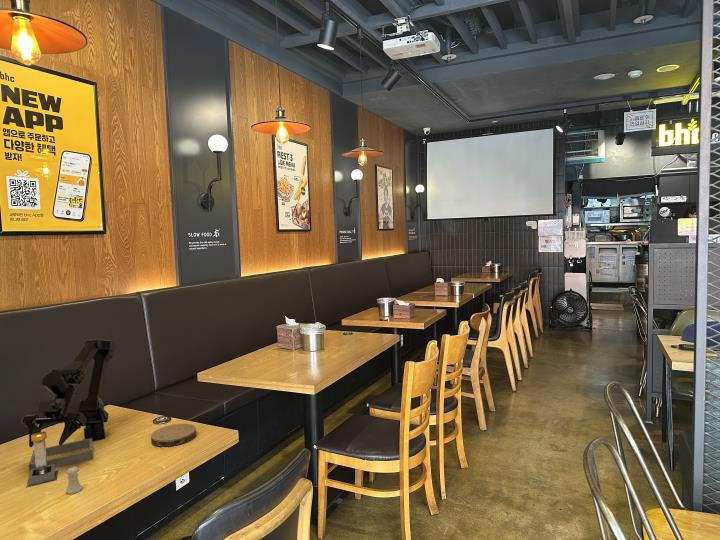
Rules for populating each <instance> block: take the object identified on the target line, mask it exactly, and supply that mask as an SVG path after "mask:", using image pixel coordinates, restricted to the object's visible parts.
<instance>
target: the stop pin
mask: <svg viewBox="0 0 720 540" xmlns="http://www.w3.org/2000/svg"><path fill="white" fill-rule="evenodd" d="M47 437H48V435H47V432H46V431H41V432H38V433H35V434H32V435H31V440H32V441H34V445H33V449H34V452H35V463H36V474H37V475H40V474H44V473H48V467H47V460H48V458H47V456H46V448H47V447H46V439H47Z"/></svg>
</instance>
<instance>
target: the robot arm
mask: <svg viewBox="0 0 720 540" xmlns="http://www.w3.org/2000/svg"><path fill="white" fill-rule="evenodd" d="M116 348H117V344H116V342H114V341H113V340H112V339H107V340H102V339H98V338H97V339H96V338H95V339H87V340H86V341H85V342H84V346H83V347H82V348H81V349H80V351H79V352H78V354H77V355H76V357H75V358H74V359H73V361H72V362H71V363H68V364H67V365H66V364H65V366H64V367H62V368H61V369H60V368H59V369H57V368H54V369H53V368H52V371H51V372H49V373H47V374H46V375H45V376H44V377H43V378H42V380H41V383H42V385H43V387H44V388H45V389H46V390H47V391H48V392H49V393H51V394H52V395H54V396H53V399H51V400H50V399H49V401H39V402H38V405H37V411H36V412H37V413H42V415H43V417H41V416H39V415H38V414H25V415H24V416H23V417H22V418H21V421H20V423H21V424H22V425H23V426H24V427H25V428H27V431H28V437H29V438H28V446H29V448H32V447H34V441H32V440H31V435H32V434H35V433H38V432H42V429H41V428H42V427H44V425H47V424H49V425H50V424H64V426H63V431H62V432H61V436H60V437H59V441H58V445H62V444H65V442H66V441H67V440H68V439H69V438H70V437H71V436H72V435H73V434H74V433H76V431H77V430H81V428H82V427H83V437H84V439H89V438H92V442H94V441H100V440H104V439H106V432H105V423H108V422H109V417H110V416H109V415H110V414H109V413H108V412H107V410H105V404H104V401H103V399H102V394H103V388H104V385H105V384H104V383H105V379H106V374H107V367H108V363H109V362H110V360H111V359H112V358H113V357H114V355H115V351H116ZM92 360H93V366H92V370H91V375H90V381H89V386H88V391H87V395H86V397H85V398H84V400H80V402H79V407H78V410H77V411H73V412H69V411H71V410H72V409H73V406H72V402H73V399H74V397H75V396H77V395H79V391H78V390H77V386H74V385H80V384H82V383H83V381H84V379H85V377H86V375H87V371H86V369H87V367H88V366H89V364H90V362H91V361H92ZM84 439H83V440H84Z"/></svg>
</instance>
